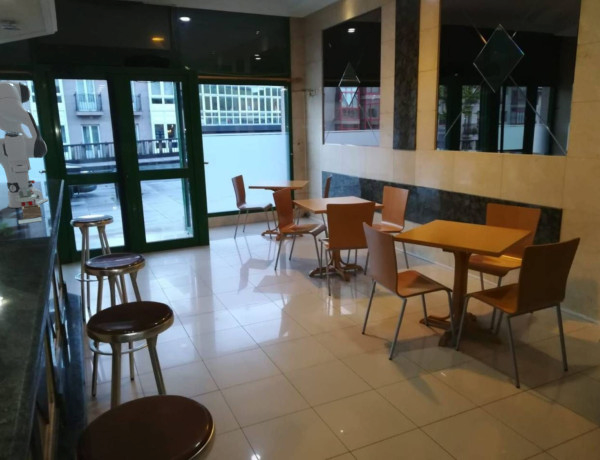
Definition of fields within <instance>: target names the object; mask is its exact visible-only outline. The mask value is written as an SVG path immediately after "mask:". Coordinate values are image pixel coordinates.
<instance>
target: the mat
mask: <svg viewBox="0 0 600 460" xmlns="http://www.w3.org/2000/svg"><path fill="white" fill-rule="evenodd" d="M17 221H18V225H25V224H31V223H39V222H43V219H42V216H41V217H34V218H26V219H24V218H23V219H18V220H17Z"/></svg>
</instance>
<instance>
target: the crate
mask: <svg viewBox="0 0 600 460" xmlns="http://www.w3.org/2000/svg"><path fill="white" fill-rule="evenodd" d="M21 210H22V215H23V219H30V218H37V217H41V218H42V216H43V215H42V211H41V210H42V209H41V204H39V205H31V206H23V207H21Z"/></svg>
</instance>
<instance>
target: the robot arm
mask: <svg viewBox="0 0 600 460" xmlns="http://www.w3.org/2000/svg"><path fill="white" fill-rule="evenodd" d="M28 86H29V85H28V84H26V83H24V82H15V81H7V80H5V81H0V130H1V131H4V132H6V133H5V134H4V137H3V138H0V165H1V166H2V168H3V169H4V170H3V171H4V174H5V176H6V181H7V183H6V187H7V189H8V191H7V198H8V204H7V207H9V208H12V209H15V208H18V209H19V208H22V207H21V202H20V201H16V197H18V196H19V191H20V190H22V192H23V195H24V196H27V195H28V194H27V189H32V191H33V192H34V194H35V195H36V199H35V201H36V205H41V204H44V203H46V202H48V201H49V199H48V198H44V194H43V192H42V191H41V190H39V189H38V188H36V187H35V186H34V185H35V184H36V181H35V180H34V179H33V180H32V179H30V175H29V171H30V170H32V167H31V163H30V159H32V158H33V159H34V158H35V159H42V158H43V157H45V155H47V153H48V148H47V147H48V146H47V144H46V142H45V140H44V139H43V137H42V135H41V133H40V132H41V131H40V130H39V127H38V125H37V122H36V121H35V118H34V116H33V113H31V111H30V110H27V109H26V108H25V107H24V106H23V104H24V103H28V102H29V101H30V98H31V91H30V88H29V87H28ZM22 125H24V126H26V127H27V128H28V130H29V133H30V134H31V136H30V135H28V134H27V133H26V132H25V131H24V128H23V127H22ZM33 184H34V185H33Z"/></svg>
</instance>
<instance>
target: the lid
mask: <svg viewBox="0 0 600 460" xmlns="http://www.w3.org/2000/svg"><path fill="white" fill-rule="evenodd" d="M27 194H28V195H27V196H24V195H23V192H22V191H19V195H20V196H18V197H16V201H20V202H27V201H34V200H33V199H36V195H35V194H34V195H31V190H27Z"/></svg>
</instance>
